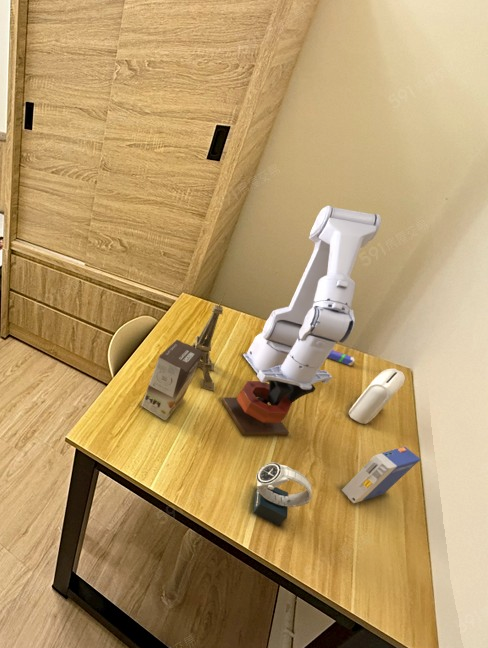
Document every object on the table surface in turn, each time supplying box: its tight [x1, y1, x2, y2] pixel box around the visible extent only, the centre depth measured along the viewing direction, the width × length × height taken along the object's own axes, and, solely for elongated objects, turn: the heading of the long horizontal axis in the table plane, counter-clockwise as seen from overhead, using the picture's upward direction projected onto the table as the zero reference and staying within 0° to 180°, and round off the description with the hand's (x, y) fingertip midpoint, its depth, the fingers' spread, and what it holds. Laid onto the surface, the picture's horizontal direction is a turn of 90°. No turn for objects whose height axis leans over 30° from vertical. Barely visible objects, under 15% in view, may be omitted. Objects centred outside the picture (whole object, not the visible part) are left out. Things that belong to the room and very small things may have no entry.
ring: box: [236, 380, 293, 423], centre depth 91 cm, size 9×9×3 cm
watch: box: [252, 461, 313, 527], centre depth 73 cm, size 6×8×11 cm
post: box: [221, 397, 290, 437], centre depth 92 cm, size 10×10×6 cm
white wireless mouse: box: [347, 367, 406, 425], centre depth 93 cm, size 10×4×12 cm, turn 123°
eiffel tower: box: [190, 293, 226, 392], centre depth 99 cm, size 11×11×25 cm
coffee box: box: [140, 339, 203, 421], centre depth 92 cm, size 9×6×16 cm
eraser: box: [326, 349, 356, 367], centre depth 110 cm, size 2×6×2 cm, turn 54°
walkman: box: [341, 446, 421, 504], centre depth 76 cm, size 8×3×12 cm, turn 105°
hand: (277, 402), depth 91 cm, fingers closed on ring, 2 cm apart
